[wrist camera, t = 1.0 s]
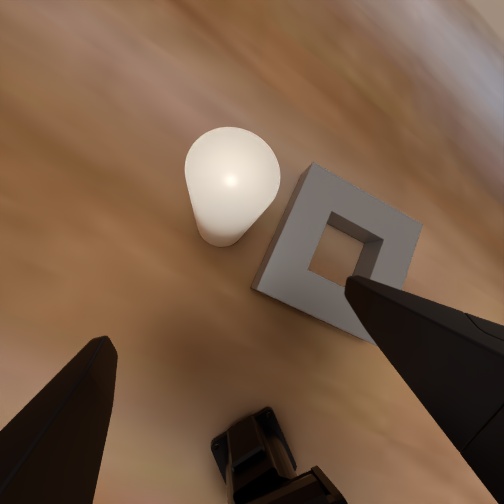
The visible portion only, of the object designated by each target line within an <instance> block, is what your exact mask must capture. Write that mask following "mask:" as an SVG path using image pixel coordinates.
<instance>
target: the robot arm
mask: <svg viewBox="0 0 504 504" xmlns="http://www.w3.org/2000/svg"><path fill="white" fill-rule="evenodd" d="M344 295H345V298H346V300H347V301H348V303H349V304H350V306H351V308H352V309H353V311H354V313H355V314H356V316H357V317H358V319H359V321H360V322H361V324H362V325H363V327H364V328H365V330H366V331H367V333H368V334H369V335H370V337H371V338H372V339H373V340H374V342H375V343H376V344H377V346H378V347H379V348H380V350H381V351H382V352H383V353H384V355H385V356H386V357H387V359H388V360H389V361H390V363H391V364H392V365H393V367H394V368H395V369H396V370H397V372H398V373H399V374H400V376H401V377H402V378H403V380H404V381H405V382H406V383H407V385H408V386H409V387H410V389H411V390H412V391H413V393H414V394H415V395H416V397H417V398H418V399H419V400H420V402H421V403H422V404H423V406H424V407H425V408H426V410H427V411H428V412H429V413H430V415H431V416H432V417H433V419H434V420H435V421H436V423H437V424H438V425H439V427H440V428H441V429H442V430H443V432H444V433H445V434H446V436H447V437H448V438H449V440H450V441H451V442H452V443H453V445H454V446H455V447H456V449H457V450H458V451H459V452H460V454H461V455H462V457H463V458H464V459H465V461H466V462H467V463H468V465H469V466H470V467H471V469H472V470H473V471H474V472H475V474H476V475H477V476H478V478H479V479H480V480H481V482H482V483H483V484H484V485H485V487H486V488H487V489H488V491H489V492H490V493H491V495H492V496H493V497H494V498H495V500H496V501H497V502H498V504H504V326H503V325H500V324H497V323H494V322H491V321H488V320H485V319H482V318H479V317H476V316H474V315H471V314H468V313H463V312H462V311H459V310H456V309H454V308H451V307H448V306H445V305H442V304H439V303H436V302H434V301H431V300H428V299H425V298H422V297H419V296H416V295H414V294H411V293H408V292H405V291H402V290H399V289H396V288H394V287H391V286H388V285H385V284H382V283H379V282H377V281H374V280H371V279H368V278H365V277H362V276H359V275H354V276H349V277H348V278H347V279H346V285H345V290H344ZM117 359H118V355H117V351H116V349H115V347H114V346H113V344H112V342H111V340H110V338H109V337H108V336H101V337H97V338H93V339H92V340H90V341H89V342H88V343H87V344H86V345H85V346H84V347H83V348H82V349H81V350H80V351H79V352H78V353H77V355H76V356H75V357H74V358H73V359H72V360H71V361H70V362H69V363H68V364H67V365H66V366H65V367H64V368H63V369H62V370H61V371H60V372H59V373H58V374H57V375H56V376H55V377H54V378H53V379H52V380H51V381H50V382H49V383H48V384H47V385H46V386H45V387H44V388H43V389H42V390H41V391H40V392H39V393H38V394H37V395H36V396H35V397H34V398H33V399H32V400H31V401H30V402H29V403H28V404H27V405H26V406H25V407H24V408H23V409H22V410H21V411H20V412H19V413H18V414H17V415H16V416H15V417H14V418H13V419H12V420H11V421H10V422H9V423H8V424H7V425H6V426H5V427H4V428H3V429H2V430H1V431H0V504H92V503H93V499H94V494H95V489H96V484H97V480H98V475H99V470H100V465H101V460H102V456H103V451H104V446H105V441H106V437H107V432H108V427H109V422H110V417H111V413H112V407H113V400H114V390H115V380H116V370H117ZM268 412H271V413H270V414H269V415H267V413H268ZM215 444H218V446H217V447H215V446H214V445H215ZM211 451H212V453H213V455H214V458H215V460H216V462H217V465H218V467H219V469H220V472H221V474H222V476H223V479H224V481H225V484H226V486H227V496H228V504H348V503H347V501H346V500H345V498H344V497H343V495H342V494H341V493H340V491H339V490H338V489H337V488H336V487H335V486H334V484H333V483H332V482H331V481H330V480H329V479H328V477H327V476H326V475H325V474H324V473H323V472H322V470H321V469H320V468H319V467H318V466H315V467H312V468H311V470H310V471H308V472H306V473H303V474H301V475H299V476H297V475H296V473H295V471H296V467H297V466H296V463H295V461H294V458H293V456H292V454H291V451H290V449H289V447H288V444H287V442H286V440H285V437H284V435H283V433H282V431H281V428H280V426H279V424H278V421H277V419H276V417H275V414H274V412H273V410H272V408H270V407H267V408H265V409H263V410H262V411H260V412H258V413H257V414H255V415H253V416H250V417H248V418H246V419H245V420H243V421H241V422H240V423H238V424H236V425H235V426H233V427H231V428H230V429H228V431H227V432H225V433H223V434H222V435H220V436H218V437H217V438H215V439H214V440H212V442H211Z"/></svg>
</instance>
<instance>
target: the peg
mask: <svg viewBox="0 0 504 504" xmlns="http://www.w3.org/2000/svg"><path fill="white" fill-rule="evenodd" d="M185 177H186V182H187V186H188V190H189V194H190V199H191V203H192V207H193V211H194V216H195V220H196V224H197V228H198V231H199V233H200V235H201V237H202V238H203V239H204V240H205V241H206V242H207V243H209V244H211V245H213V246H217V247H226V246H230V245H232V244H234V243H236V242H237V241H238V240H239V239H240V238H241V237H242V236H243V234H244V233H245V232H246V231H247V230H248V229H249V228H250V227H251V225H252V224H253V223H254V222H255V221H256V220H257V219H258V217H259V216H260V215H261V214H262V213H263V212H264V211H265V209H266V208H267V207H268V206H269V205H270V204H271V203H272V201H273V200H274V198H275V196H276V194H277V192H278V189H279V184H280V169H279V164H278V161H277V159H276V157H275V155H274V153H273V151H272V150H271V148H270V147H269V146H268V145H267V143H266V142H264V141H263V140H262V139H261V138H260V137H258V136H257V135H255V134H253V133H252V132H249V131H247V130H244V129H241V128H235V127H221V128H217V129H214V130H211V131H209V132H207V133H205V134H203V135H202V136H201V137H199V138H198V139H197V140H196V141H195V142H194V144H193V145H192V146H191V148H190V150H189V152H188V155H187V157H186V162H185Z"/></svg>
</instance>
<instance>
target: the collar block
mask: <svg viewBox="0 0 504 504" xmlns="http://www.w3.org/2000/svg"><path fill="white" fill-rule="evenodd" d="M326 223H327V224H329V225H331V226H333V227H335V228H337V229H339V230H341V231H342V232H344V233H346V234H348V235H350V236H352V237H354V238H356V239H357V240H359V241H361V242H363V243H365V244H364V246H363V249H362V252H361V255H360V257H359V260H358V263H357V265H356V268H355V271H354V273H353V276H354V275H359V276H362V277H365V278H368V279H371V280H374V281H377V282H379V283H382V284H385V285H388V286H391V287H394V288H396V289H399V290H402V287H403V284H404V281H405V278H406V274H407V271H408V268H409V265H410V262H411V259H412V256H413V253H414V250H415V247H416V244H417V241H418V238H419V235H420V232H421V229H422V226H423V224H421V223H420V222H418V221H416V220H414V219H413V218H411V217H409V216H407V215H406V214H404V213H402V212H400V211H399V210H397V209H395V208H393V207H392V206H390V205H388V204H386V203H385V202H383V201H381V200H379V199H378V198H376V197H374V196H372V195H371V194H369V193H367V192H365V191H364V190H362V189H360V188H358V187H357V186H355V185H353V184H351V183H349V182H348V181H346V180H344V179H342V178H341V177H339V176H337V175H335V174H334V173H332V172H330V171H328V170H327V169H325V168H323V167H321V166H320V165H318V164H316V163H314V162H313V163H312V164H311V165H310V166H309V167H308V168H307V169H306V170H305V171H304V172H303V173H302V175H301V177H300V179H299V181H298V183H297V185H296V188H295V190H294V192H293V194H292V197H291V199H290V201H289V203H288V205H287V208H286V210H285V212H284V214H283V217H282V219H281V221H280V223H279V225H278V228H277V230H276V232H275V234H274V236H273V239H272V241H271V243H270V245H269V248H268V250H267V252H266V254H265V256H264V259H263V261H262V263H261V265H260V268H259V270H258V272H257V274H256V276H255V279H254V281H253V283H252V285H251V288H253V289H255V290H257V291H259V292H261V293H263V294H266V295H268V296H270V297H272V298H274V299H276V300H278V301H281V302H283V303H285V304H287V305H289V306H291V307H293V308H296V309H298V310H300V311H302V312H304V313H306V314H308V315H311V316H313V317H315V318H317V319H319V320H321V321H323V322H326V323H328V324H330V325H332V326H334V327H336V328H338V329H341V330H343V331H345V332H347V333H349V334H351V335H353V336H356V337H358V338H360V339H362V340H364V341H367V342H369V343H371V344H374V345H376V346H377V344H376V343H375V342H374V340H373V339H372V338H371V337H370V335H369V334H368V333H367V331H366V330H365V328H364V327H363V325H362V324H361V322H360V321H359V319H358V317H357V316H356V314H355V313H354V311H353V309H352V308H351V306H350V304H349V303H348V301H347V300H346V298H345V295H344V290H345V288H344V287H342V286H340V285H338V284H336V283H334V282H332V281H330V280H328V279H326V278H324V277H322V276H320V275H318V274H316V273H314V272H311V271H309V270H307V269H308V267H309V264H310V262H311V259H312V257H313V255H314V252H315V250H316V247H317V245H318V242H319V240H320V238H321V235H322V233H323V230H324V228H325V225H326Z"/></svg>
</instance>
